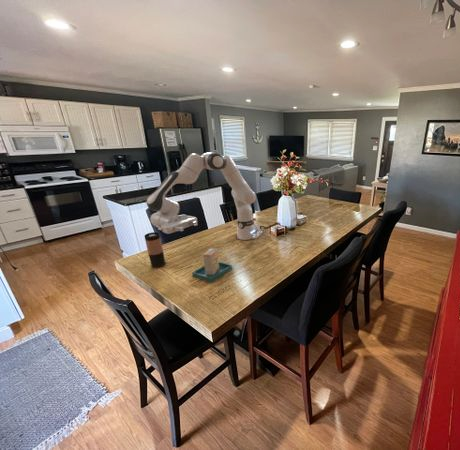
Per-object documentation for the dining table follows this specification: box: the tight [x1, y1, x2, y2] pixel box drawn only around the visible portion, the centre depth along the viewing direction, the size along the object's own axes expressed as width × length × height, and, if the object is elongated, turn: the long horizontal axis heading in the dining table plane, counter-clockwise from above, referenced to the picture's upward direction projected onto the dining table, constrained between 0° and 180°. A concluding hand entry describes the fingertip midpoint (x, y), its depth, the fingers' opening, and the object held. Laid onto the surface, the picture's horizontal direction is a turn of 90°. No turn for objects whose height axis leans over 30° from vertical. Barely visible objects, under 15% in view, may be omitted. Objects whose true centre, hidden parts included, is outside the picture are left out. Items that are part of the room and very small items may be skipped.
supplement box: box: [202, 248, 220, 276], centre depth 135 cm, size 8×5×13 cm, turn 174°
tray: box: [191, 261, 233, 283], centre depth 137 cm, size 16×14×2 cm
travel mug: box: [144, 231, 166, 269], centre depth 142 cm, size 8×8×20 cm
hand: (189, 226), depth 134 cm, fingers open, 8 cm apart
